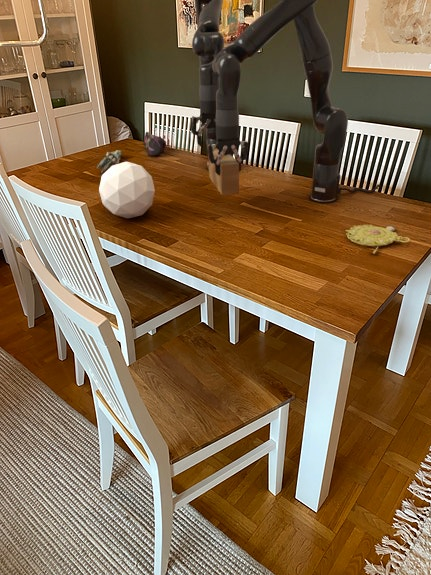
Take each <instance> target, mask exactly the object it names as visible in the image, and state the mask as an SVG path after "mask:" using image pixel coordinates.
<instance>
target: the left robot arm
mask: <svg viewBox="0 0 431 575" xmlns="http://www.w3.org/2000/svg"><path fill="white" fill-rule="evenodd" d="M193 2H194V10H195V16H196V26H197V27H196V30H195V32H194V35H193V37H192V42H191V47H192V51H193V53H194V55H195V56H196V57H198V60H199V68H198V78H199V80H198V81H199V86H198V87H199V89H198V98H199V116H194V115H193V116H191V134H192V135H193V136H196V143H197V145H198V146H199V147H203V137H202V135H203V133H204V132H205V134H206V145H207V144H210V145H211V144H215V142H216V122H215V120H216V92H217V90H218V89H219V77H218V76H217V75H216V74H215V73H214V71H213V68H212V64H213V60H214V58H215V57H216V55H217V54H218V53H219V52H220V51H221V50H223V49H224V48H225V43H226V42H225V38H224V35H223V34H222V33H221V32H220V16H221V12H222V8H223V4H224V0H193ZM199 121H200V123H201V124H200V125H199V127H198V128H197V124H198V123H199ZM215 148H216V147H215ZM232 157H233V158H234V159H235V160H236V158H235V156H232ZM206 158H207V159H206V160H207V162H206V167H207V170H208V171H209V162H208V149H207V148H206ZM236 161H237V160H236Z"/></svg>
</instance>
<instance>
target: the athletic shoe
mask: <svg viewBox="0 0 431 575" xmlns="http://www.w3.org/2000/svg"><path fill="white" fill-rule="evenodd" d="M143 146H144V147H145V149H146V150H145V152H146V153H147V155H148V156H151V157H152V156H154V157H155V156H159V155H160V154H162V152H164V150H165V148H167V147H170V145H169V144H167V140H165V139H164V138H162V137H160V136H158V135H154V134H152V133H150V132H149V131H146V132H145V134H144V139H143Z"/></svg>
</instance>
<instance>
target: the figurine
mask: <svg viewBox="0 0 431 575" xmlns="http://www.w3.org/2000/svg"><path fill="white" fill-rule="evenodd" d="M122 153H123V152H122V150H115V151H111V152H110V151H107V152H106V153H105V155H106V156H104V157H103V158H102V159H101V161H100V162H99V163H98V165H97V167H96V169H97V170H100V173H101V174H104V173H105V172H106V171H107V170H108V169H109V168H110V167H111V166H113V165H116V164H120V160H121V158H122V157H123V154H122Z"/></svg>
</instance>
